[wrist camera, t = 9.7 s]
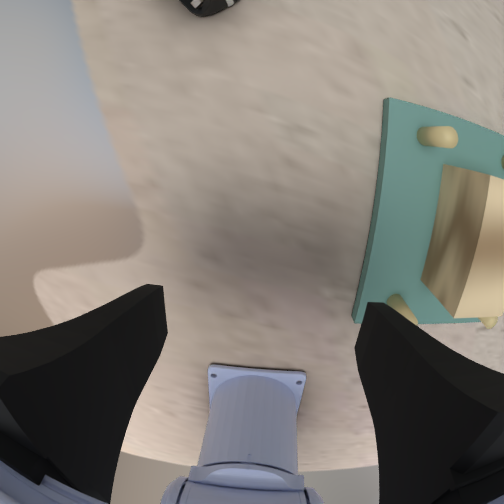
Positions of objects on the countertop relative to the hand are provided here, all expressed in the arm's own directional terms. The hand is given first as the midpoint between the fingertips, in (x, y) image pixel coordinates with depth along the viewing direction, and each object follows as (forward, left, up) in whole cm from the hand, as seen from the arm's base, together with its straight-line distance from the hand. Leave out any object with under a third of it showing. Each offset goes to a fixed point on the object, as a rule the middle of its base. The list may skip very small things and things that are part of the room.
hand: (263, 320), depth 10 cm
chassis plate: (+2, -13, -9) cm, 16 cm away
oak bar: (+2, -13, -8) cm, 16 cm away
